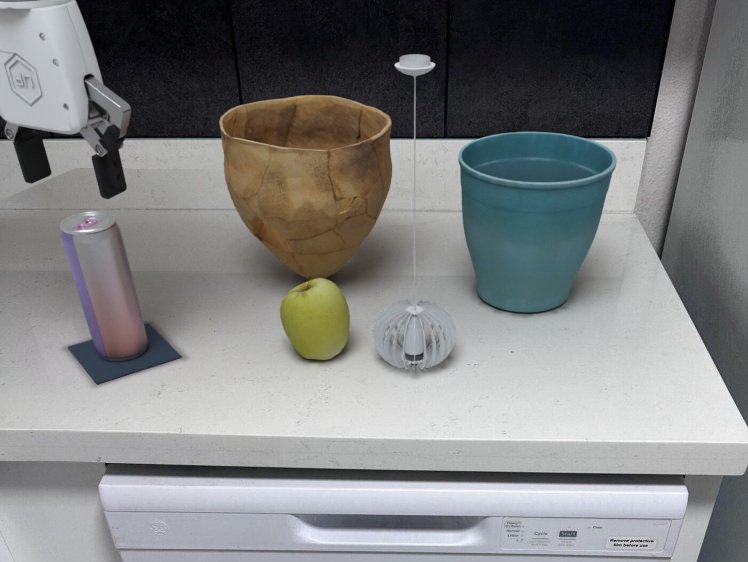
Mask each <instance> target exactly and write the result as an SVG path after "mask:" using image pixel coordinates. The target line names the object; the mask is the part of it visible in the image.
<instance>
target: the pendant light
mask: <svg viewBox="0 0 748 562" xmlns="http://www.w3.org/2000/svg"><path fill="white" fill-rule="evenodd" d="M394 67H395V69H396V70H397V71H399V72H401V73H402V74H405V75H408V76H411V77H413V79H414V81H413V82H414V83H413V85H414V87H413V92H414V94H413V104H414V105H413V127H414V128H413V303H412V302H411V301H410V300H409V299H406V300H405V301H404V300H400V301H398V302H394V303H392V304H390V305H388V306H387V307H385V308H384V309H382V311H381V312H380V313H379V314H378V315H377V317H376V319H375V322H374V324H373V327H372V340H373V345H374V347H375V350H376V351H377V353H378V354H379V355H380V357H381V358H382V359H383V360H384V361H385V362H387V363H389V364H390V366H394V367H397V368H399V369H403V368H404V369H405V370H409V369H410V368H411V366H412V365H413V370H414V371H415V369H416V367H415V366H416V364H417V367H418V368H419V369H420V370H423V369H424V368H426V369H430V368H432V367H435V366H437V365H439V364H440V363H441V362H443V361H444V360H445V359H446V358H448V356H449V355H450V353H451V352H452V350H453V349H454V347H455V342H456V337H457V329H456V324H455V322H454V319H453V317H452V316H451V314H450V313H449V312H448V310H446V308H444V307H442V306H441V305H439V304H437V303H435V302H431V301H429V300H423V299H420V300H418V301H417V302H416V117H417V116H416V111H417V110H416V101H417V98H416V97H417V96H416V94H417V92H416V90H417V89H416V88H417V85H416V84H417V83H416V82H417V80H416V79H417V77H418V76H421V75H425V74H427V73H429V72H430V71H432V70H433V69H434V68H435V67H436V63H434V62H433V61H431V57H430V56H429V55H426V54H420V53H418V54H417V53H416V54H415V53H413V54H411V53H410V54H404V55H401V56H399V61H397V62H395V63H394ZM425 326H426V328H427V329H428V332H429V333H428V336H427V339H426V336H425ZM402 328H403V329H404V333H403V335H404V336H403V341H402V338H401V336H400V332H401V329H402ZM434 329H435V331H436V334H435V333H434V331H433V330H434ZM394 330H395V334H394V336H393V333H392V332H393V331H394ZM430 340H431V343H430ZM438 340H439V341H438ZM398 342H399V343H398ZM437 342H438V343H437ZM391 343H392V344H391ZM429 343H430V344H429ZM406 354H407V355H409V356H413V361H412V360H408V359H407V358H406ZM421 354H423V355H422V356H423V358H422V359H420V360H417V361H416V356H418V355H421Z"/></svg>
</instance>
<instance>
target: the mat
mask: <svg viewBox="0 0 748 562" xmlns="http://www.w3.org/2000/svg"><path fill="white" fill-rule="evenodd" d="M144 326H145V330H146V334H147V338H148V345H147V348H146V350H145V352H144V353H143V354H142V355H140V356H139V357H137V358H134V359H132V360H128V361H122V362H113V361H108V360H105V359H103V358H102V357H101V356H100V355H98V354H97V352H96V351H95V347H94V344H93V341H92V339H89V340H85V341H83V342H79V343H75V344H72V345H68V346H67V350H69V351H70V353H71V354H72V355H73V357H74V358H75V359H76V360H77V361H78V363H79V364H80V366H81V367H82V368H83V369H84V370H85V372H86V373H87V374H88V375H89V377H90V378H91V379H92V380H93V382H94V383H95V384H96V385H101V384H104V383H107V382H110V381H114V380H115V379H119V378H122V377H125V376H128V375H132V374H134V373H135V374H136V373H138V372H141V371H144V370H148V369H150V368H154V367H157V366H160V365H163V364H166V363H169V362H172V361H175V360H179V359H181V358H182V357H183V356H182V354H180V353H179V352H178V351H177V350H176V348H174V347H173V346H172V345H171V344H170V343H169V342H168V341H167V340H166V339H165V337H163V336H162V335H161V334H160V333H159V332H158V330H156V329H155V328H154V327H153V325H151V324H150V323H149V322H147V323H144Z"/></svg>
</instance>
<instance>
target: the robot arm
mask: <svg viewBox="0 0 748 562" xmlns="http://www.w3.org/2000/svg"><path fill="white" fill-rule="evenodd" d="M102 77H103V76H102V74H101V69H100V66H99V63H98V59H97V56H96V53H95V49H94V46H93V43H92V40H91V37H90V34H89V31H88V29H87V25H86V23H85V20H84V18H83V15H82V13H81V10H80V8H79V5H78V3H77V1H76V0H0V125H1V127H3V128H4V131H3V132H4V135H5V137H6V138H7V139H8V140H10V141H12V144H13V148H14V151H15V155H16V157H17V160H18V163H19V164H18V165H19V167H20V170H21V174H22V176H23V180H24V182H25V183H26V184H34V183H37V182H39V181H41V180H44V179H46V178H49V177H50V176H51V175H52V173H53V172H52V169H51V164H50V160H49V158H48V154H47V150H46V147H45V144H44V140H43V137H42V134H41V133H40V132H35V131H36V130H39V131H44V132H51V133H56V134H62V135H75V134H78V133H80V135H81V136H82V137H83V139H84V140H85V141H86V142H87V144H88V145H89V146H90V148H91V149H92V150H93V151H94V153H95V154H93V155H91V163H92V166H93V171H94V174H95V179H96V183H97V186H98V191H99V195H100V196H101V198H102V199H105V200H109V199H112V198H114V197H116V196H118V195H120V194H122V193H124V192H126V191H127V189H128V186H127V182H126V181H127V180H126V176H125V172H124V168H123V163H122V158H121V154H120V150H122V149H123V147H124V142H125V140H126V138H127V137H128V135H129V133H130V132H129V125H130V119H131V114H132V107H131V105H130V104H129V103H128V102H127V101H126V100H124V99H123V98H122V97H121V96H119V95H117V94H116V93H115V92H114V91H112V89H110V88H108V87H107V86H106V85H105V84H104V81H103V78H102ZM108 119H109V120H108ZM95 129H97V130H98V131H99V132H100V133H101V135H102V136H101V137H100V135H99V134H98V133H97V132H96V130H95Z"/></svg>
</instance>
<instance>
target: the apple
mask: <svg viewBox="0 0 748 562" xmlns="http://www.w3.org/2000/svg"><path fill="white" fill-rule="evenodd" d="M310 278H311V276H310V277H309V279H308V281H305V282H302V283H300V284H298V285H296V286H295V287H293V288H291V289H290V290H289V291H288V292H287V294H286V295H285V296H284V297H283V299H282V300H281V303H280V307H279V315H280V321H281V325H282V328H283V330H284V333H285V335H286V336H287V338H288V340H289V342H290V343H291V345H292V347H293V349H294V350H296V352H297V353H298V354H299V355H300V356H301V357H302V358H304V359H307V360H318V361H319V360H320V361H321V360H322V361H323V360H325V361H326V360H327V361H328V360H331V359H333V358H334V357H336V356H337V355H339V354H340V353H341V352H342V350H343V349H344V348H345V346H346V345H347V342H348V339H349V336H350V335H349V334H350V327H351V326H350V325H351V316H350V308H349V304H348V301H347V299H346V296H345V294H344V293H343V291H342V290H341V289H340V287H339V286H338V285H337V284H336V283H334V282H333V281H332V280H329V279H327V278H317V279H313V280H310Z"/></svg>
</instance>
